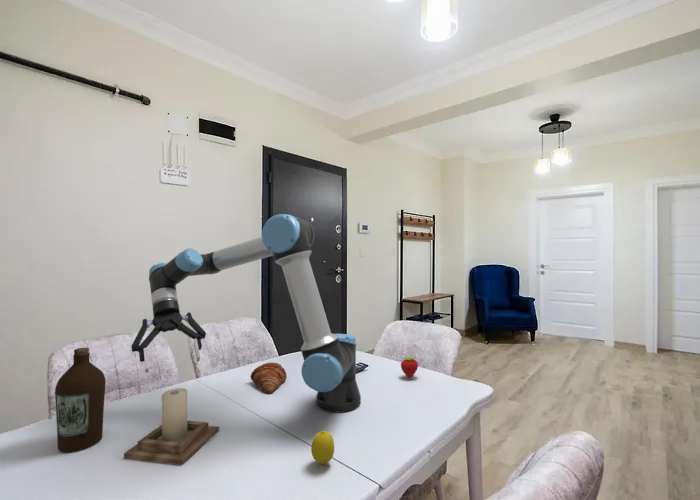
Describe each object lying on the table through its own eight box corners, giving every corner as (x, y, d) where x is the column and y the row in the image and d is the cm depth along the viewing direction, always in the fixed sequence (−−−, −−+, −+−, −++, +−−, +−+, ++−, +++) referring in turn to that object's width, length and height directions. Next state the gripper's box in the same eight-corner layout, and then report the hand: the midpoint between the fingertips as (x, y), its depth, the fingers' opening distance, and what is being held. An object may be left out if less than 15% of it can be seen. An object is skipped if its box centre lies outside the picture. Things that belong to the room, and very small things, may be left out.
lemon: (311, 458, 85) (311, 425, 85) (333, 457, 85) (334, 424, 85) (310, 472, 79) (311, 437, 79) (334, 471, 80) (334, 436, 80)
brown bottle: (69, 434, 95) (70, 344, 95) (112, 430, 98) (112, 342, 98) (44, 457, 85) (45, 356, 85) (93, 451, 87) (94, 353, 87)
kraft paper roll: (192, 433, 93) (191, 388, 93) (177, 445, 88) (177, 398, 88) (172, 431, 95) (172, 387, 94) (156, 443, 89) (156, 396, 89)
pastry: (299, 382, 135) (299, 362, 135) (269, 395, 122) (269, 373, 122) (269, 373, 144) (269, 354, 145) (239, 385, 132) (239, 364, 132)
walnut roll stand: (218, 430, 98) (218, 419, 98) (182, 465, 82) (182, 451, 82) (168, 426, 100) (168, 415, 100) (123, 458, 84) (123, 445, 84)
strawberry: (397, 377, 140) (397, 353, 140) (412, 374, 143) (412, 350, 143) (406, 382, 135) (406, 356, 135) (421, 379, 138) (421, 354, 138)
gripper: (205, 305, 121) (216, 360, 110) (120, 317, 108) (123, 381, 97) (207, 293, 117) (219, 349, 105) (119, 304, 103) (122, 369, 92)
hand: (173, 364), depth 101 cm, fingers open, 13 cm apart
